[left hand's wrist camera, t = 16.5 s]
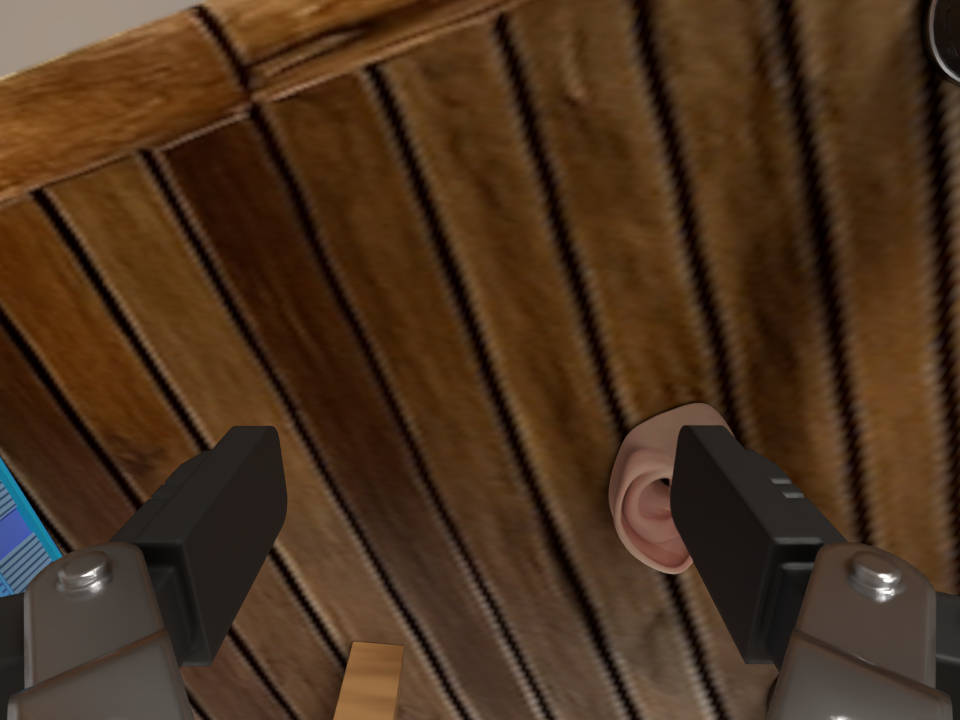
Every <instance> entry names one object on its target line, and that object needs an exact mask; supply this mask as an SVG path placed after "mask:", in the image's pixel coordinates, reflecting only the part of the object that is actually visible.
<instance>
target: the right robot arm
mask: <svg viewBox="0 0 960 720" xmlns="http://www.w3.org/2000/svg"><path fill="white" fill-rule="evenodd" d="M776 683H777V681H776ZM776 683H775V684H774V686H773V688H772V690H771V692H770V695H769V698H768V703H767V711H768V710H769V707H770V703H771V700H772V697H773V693H774V690H775V687H776Z"/></svg>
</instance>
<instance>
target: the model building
mask: <svg viewBox="0 0 960 720" xmlns="http://www.w3.org/2000/svg"><path fill="white" fill-rule="evenodd" d="M61 557H63V556H62V554H61V553H60V551H59V550H58V548H57V546H56V545H55V543H54V542H53V540H52V538H51V537H50V535H49V534H48V532H47V531H46V529H45V527H44V526H43V524H42V523H41V521H40V519H39V518H38V516H37V515H36V513H35V511H34V510H33V508H32V507H31V505H30V504H29V502H28V500H27V499H26V497H25V496H24V494H23V492H22V491H21V489H20V488H19V486H18V485H17V483H16V481H15V480H14V478H13V477H12V475H11V473H10V472H9V470H8V469H7V467H6V465H5V464H4V462H3V461H2V459H1V458H0V597H4V596H9V595H13V594H18V593H22V592H25V590H26V588H27V586H28V584H29V583H30V582H31V580H32V579H33V578H34V577H35V576H36V575H37V574H38V573H39V572H40V571H41V570H42V569H44V568H45V567H46V566H48V565H49V564H51V563H52V562H54V561H55V560H57V559H59V558H61Z"/></svg>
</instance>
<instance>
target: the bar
mask: <svg viewBox="0 0 960 720" xmlns="http://www.w3.org/2000/svg"><path fill="white" fill-rule="evenodd" d="M403 654H404V646H401V645H390V644H378V643H367V642H355V641H353V643H352V647H351V651H350V655H349V659H348V663H347V667H346V671H345V675H344V679H343V682H342V686H341V690H340V694H339V698H338V702H337V706H336V710H335V714H334V718H333V720H397V719H398V708H399V697H400V687H401V676H402V665H403Z"/></svg>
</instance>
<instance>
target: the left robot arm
mask: <svg viewBox="0 0 960 720" xmlns="http://www.w3.org/2000/svg"><path fill="white" fill-rule="evenodd" d="M923 37H924V44H925V48H926V52H927V54H928V57H929V59H930V61H931V63H932V65H933V66H934V68H935V69H936V70H937V71H938V72H939V74H941V75H942V76H943V77H944V78H945V79H947V80H948V81H950V82H952V83H954V84H956V85H959V86H960V0H927V4H926V8H925V13H924V20H923ZM670 509H671V515H672V519H673V522H674V525H675V527H676V529H677V531H678V533H679V535H680V537H681V539H682V541H683V542H684V544H685V546H686V548H687V550H688V552H689V554H690V556H691V558H692V560H693V562H694V564H695V566H696V568H697V570H698V572H699V574H700V576H701V578H702V580H703V582H704V584H705V586H706V587H707V589H708V591H709V593H710V595H711V597H712V599H713V601H714V603H715V605H716V607H717V609H718V611H719V613H720V615H721V617H722V619H723V621H724V623H725V625H726V627H727V629H728V631H729V632H730V634H731V636H732V638H733V640H734V642H735V644H736V646H737V648H738V650H739V652H740V654H741V656H742V658H743V660H744V662H745V664H775V666H776V668H777V669H778V671H779V673H780V674H779V677H778V680H777V683H776V687H775V690H774V693H773V697H772V700H771V703H770V707H769V710H768V713H767V717H766V720H960V596H955V595H951V594H946V593H941V592H937V591H935V590H934V588H933V586H932V584H931V583H930V582H929V580H928V579H927V578H926V577H925V576H924V575H923V574H922V573H921V572H920V571H919V570H918V569H916V568H915V567H914V566H912V565H911V564H909V563H908V562H906V561H905V560H903V559H901V558H899V557H897V556H895V555H893V554H891V553H889V552H887V551H884V550H881V549H879V548H876V547H872V546H869V545H865V544H860V543H853V542H848V541H847V540H846V539H845V538H844V537H843V536H842V535H841V534H840V533H839V532H838V531H837V529H836V528H835V527H834V526H833V525H832V524H831V523H830V522H829V521H828V520H827V519H826V518H825V516H824V515H823V514H822V513H821V512H820V511H819V510H818V509H817V508H816V507H815V506H814V505H813V504H812V502H811V501H810V500H809V499H808V498H804V494H803V493H802V492H801V491H800V489H799V488H798V487H797V486H796V485H795V484H791V480H790V479H789V478H788V477H787V475H786V474H785V473H784V472H783V471H782V470H781V469H780V468H779V467H778V466H777V465H776V464H775V463H773V462H772V461H770V460H768V459H767V458H765V457H763V456H762V455H760V454H758V453H757V452H755V451H753V450H745V449H744V448H743V447H742V446H741V444H740V443H739V442H738V441H737V440H736V439H735V437H734V436H733V435H732V434H731V433H730V432H729V431H728V429H727V428H726V427H725V426H723V425H684V426H682V428H681V429H680V431H679V435H678V440H677V447H676V454H675V462H674V469H673V476H672V483H671V490H670ZM286 511H287V490H286V483H285V476H284V469H283V462H282V455H281V448H280V441H279V436H278V432H277V430H276V429H275V427H273V426H234V427H232V428H231V429H230V430H229V431H228V432H227V433H226V434H225V436H224V437H223V438H222V439H221V440H220V441H219V442H218V444H217V445H216V446H215V447H214V448H213V449H212V450H211V451H203V452H202V453H200V454H198V455H197V456H195V457H193V458H191V459H190V460H188V461H186V462H185V463H183V464H181V465H180V466H179V467H178V468H177V469H176V470H175V471H174V472H173V474H172V475H171V476H170V477H169V478H168V479H167V480H166V481H165V485H161V486H160V487H159V489H158V490H157V491H156V492H155V493H154V494H153V495H152V499H148V500H147V501H146V502H145V504H144V505H143V506H142V507H141V508H140V509H139V510H138V511H137V512H136V513H135V514H134V515H133V516H132V517H131V519H130V520H129V521H128V522H127V523H126V524H125V525H124V526H123V527H122V528H121V529H120V530H119V531H118V532H117V533H116V535H115V536H114V537H113V538H112V539H111V540H110V541H109V542H107V543H100V544H95V545H91V546H88V547H84V548H81V549H79V550H76V551H73V552H71V553H69V554H67V555H65V556H63V557H61V558H59V559H57V560H55V561H54V562H52V563H51V564H49V565H48V566H46V567H45V568H44V569H42V570H41V571H40V572H39V573H38V574H37V575H36V576H35V577H34V578H33V579H32V580H31V582H30V583H29V584H28V586H27V588H26V590H25V592H22V593H18V594H13V595H9V596H4V597H0V720H194V717H193V713H192V710H191V707H190V703H189V700H188V697H187V693H186V690H185V687H184V683H183V680H182V677H181V674H180V670H179V669H180V667H181V666H210V665H211V663H212V661H213V659H214V657H215V656H216V654H217V652H218V650H219V648H220V646H221V644H222V642H223V640H224V638H225V636H226V634H227V632H228V630H229V628H230V627H231V625H232V623H233V621H234V619H235V617H236V615H237V613H238V611H239V609H240V607H241V605H242V603H243V601H244V599H245V598H246V596H247V594H248V592H249V590H250V588H251V586H252V584H253V582H254V580H255V578H256V576H257V574H258V572H259V570H260V569H261V567H262V565H263V563H264V561H265V559H266V557H267V555H268V553H269V551H270V549H271V547H272V545H273V543H274V542H275V540H276V538H277V536H278V534H279V532H280V530H281V528H282V526H283V523H284V520H285V516H286Z"/></svg>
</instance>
